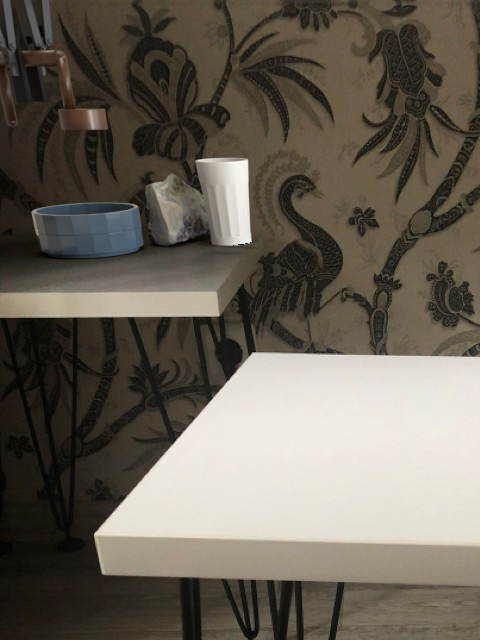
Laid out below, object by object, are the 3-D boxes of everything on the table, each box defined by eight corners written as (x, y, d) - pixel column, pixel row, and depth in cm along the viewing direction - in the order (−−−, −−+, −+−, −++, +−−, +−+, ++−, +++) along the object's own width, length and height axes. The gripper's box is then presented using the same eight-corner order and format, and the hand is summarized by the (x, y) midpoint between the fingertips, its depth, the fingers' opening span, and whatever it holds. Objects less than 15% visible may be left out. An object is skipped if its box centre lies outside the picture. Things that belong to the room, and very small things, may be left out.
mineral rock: (215, 233, 156) (207, 168, 151) (236, 241, 148) (228, 173, 143) (139, 239, 150) (128, 172, 145) (157, 248, 142) (145, 178, 137)
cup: (267, 240, 148) (258, 158, 142) (233, 248, 142) (223, 162, 136) (230, 237, 152) (220, 157, 146) (195, 244, 146) (184, 161, 140)
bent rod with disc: (117, 129, 134) (105, 49, 129) (81, 130, 129) (66, 48, 125) (27, 126, 144) (12, 52, 139) (-10, 127, 139) (-27, 51, 134)
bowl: (33, 261, 134) (23, 217, 131) (49, 245, 146) (40, 204, 143) (141, 256, 136) (133, 213, 133) (147, 240, 149) (141, 201, 146)
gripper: (-43, -105, 118) (3, 103, 130) (56, -90, 129) (90, 100, 141) (-76, -99, 121) (-29, 103, 133) (23, -85, 132) (59, 100, 144)
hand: (32, 101), depth 137 cm, fingers closed on bent rod with disc, 2 cm apart
